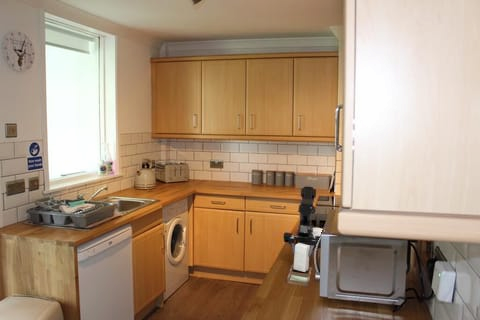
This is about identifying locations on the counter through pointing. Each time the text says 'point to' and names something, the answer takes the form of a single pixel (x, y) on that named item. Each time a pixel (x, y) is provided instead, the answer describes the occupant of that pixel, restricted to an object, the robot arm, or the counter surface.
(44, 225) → the counter surface
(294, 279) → the wooden divided tray
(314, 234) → the white cup
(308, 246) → the skincare box
